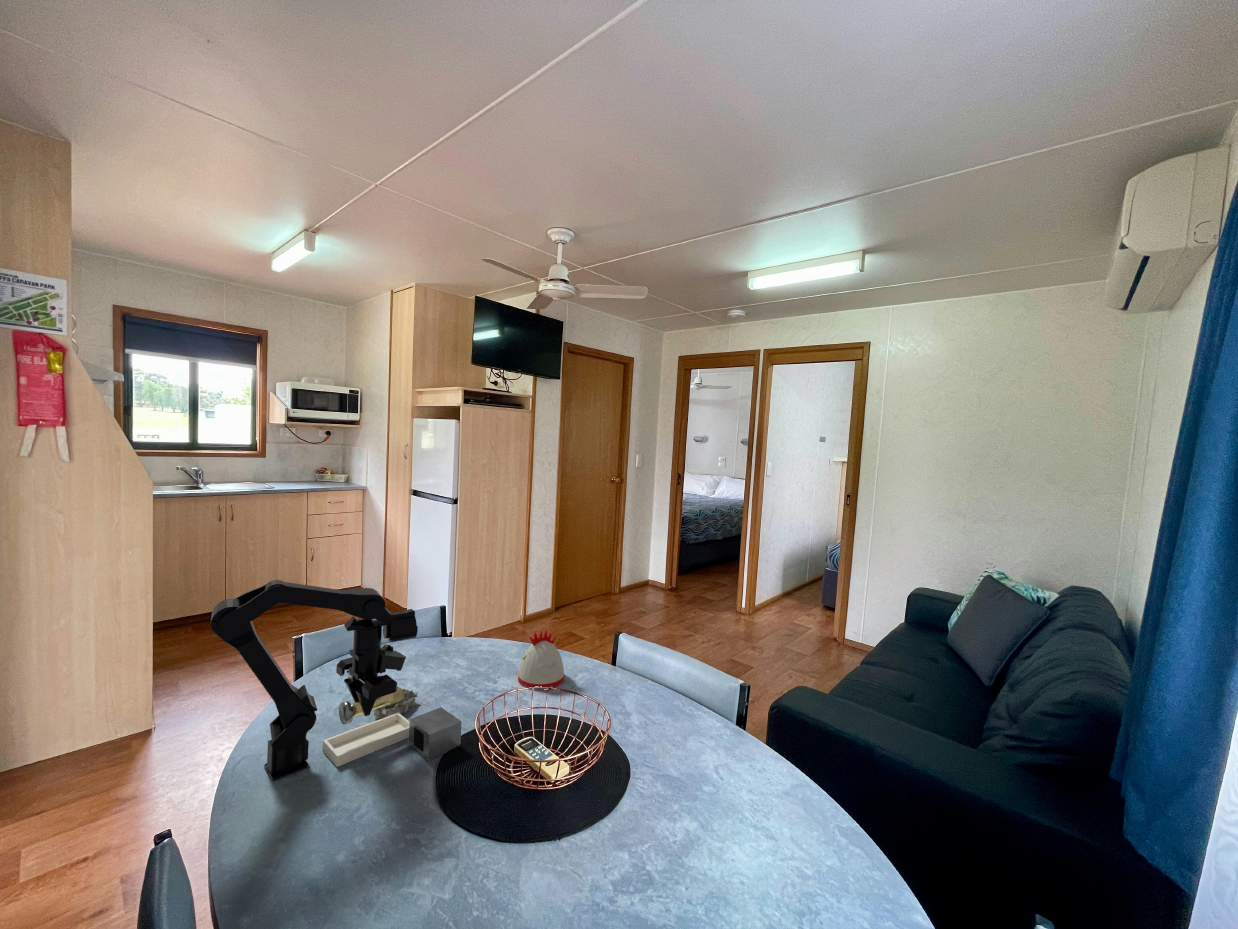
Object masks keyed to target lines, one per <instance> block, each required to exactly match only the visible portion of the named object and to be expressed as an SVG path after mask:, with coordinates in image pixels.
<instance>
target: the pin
mask: <svg viewBox="0 0 1238 929" xmlns="http://www.w3.org/2000/svg"><path fill="white" fill-rule="evenodd" d="M402 689H403V688H401V687H399V689H397V691H396V692H395V693H392V694H389V695H386V696H383V697H380V698H377V699H376V700H375V703H374V706H373V708H372V711H375V709H378V708H381V707H384V706H387V705H390V704H392V703H393V704H395V702H398V701H401V700H403V698H404V693H403V690H402ZM338 706H339V707H338V716H339V721H340V723H341V724H342V725H343V726H345V725H348V724H351V723H352V722H353V719H354V718H355V717H358V716H361V715H364V713H363V711H362V708H361V705H360V702H356V703H355V702H353V703H351V702H350V701H348V700H346V701H344V702H340V704H339V705H338Z"/></svg>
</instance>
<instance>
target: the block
mask: <svg viewBox="0 0 1238 929" xmlns="http://www.w3.org/2000/svg"><path fill="white" fill-rule="evenodd" d="M408 721H409V737H408V745H409V746H410V747H411V748H413V749H414V750H415V751H416V752H417V753H419V754H420V755H421V756H422V757H423V758H424V759H426V760H427V761H428V762H429V761H431V760H433V759H435V758H438V757H439V756H442V755H444V754H446V753H448V751H449V750H451V749H452V748H455V747H456V746H459V745H460V744H462V742H461V741H462V724H463V723H462V720H460V719H459V718H457V717H456V716H454V715H453V714H452V713H450V712H449V711H448V710H446V709H445V708H443V707H441V706H440V707H438V708H436V709H433V710H430V711H428V712H425V713H422V714H420V715H417V716H414V717H412V718H409V720H408ZM459 747H460V746H459ZM455 749H456V748H455ZM451 751H452V750H451ZM449 752H450V751H449Z"/></svg>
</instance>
